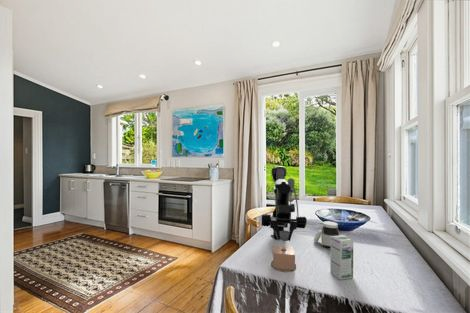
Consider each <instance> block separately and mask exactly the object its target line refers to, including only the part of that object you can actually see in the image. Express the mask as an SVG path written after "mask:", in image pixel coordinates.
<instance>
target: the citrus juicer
mask: <svg viewBox="0 0 470 313" xmlns="http://www.w3.org/2000/svg"><path fill="white" fill-rule="evenodd" d="M286 181H287V182H288V185H289V186H290V187H291V189H292V192H291V193H290V198H289V205H290V204H292V194H294V198H295V207H296V214H297V215H296V216H300V214H299V204H298V197H297V193H296V188H295V184H296V183H295V180H294V178H291V177H289V178H288V179H287V180H286ZM290 219H292V216H291V217H290Z"/></svg>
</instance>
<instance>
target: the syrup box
mask: <svg viewBox="0 0 470 313" xmlns="http://www.w3.org/2000/svg"><path fill="white" fill-rule="evenodd" d="M329 264H330V266H329V267H330V271H329V272H330V274H332V275H333V276H334V277H336V278H337V279H338V280H340V281H342V280H349V279H353V278H354V239H352V238H351V237H349V236H347V235H344V234H341V235H340V234H339V236H331V249H330V262H329Z"/></svg>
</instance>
